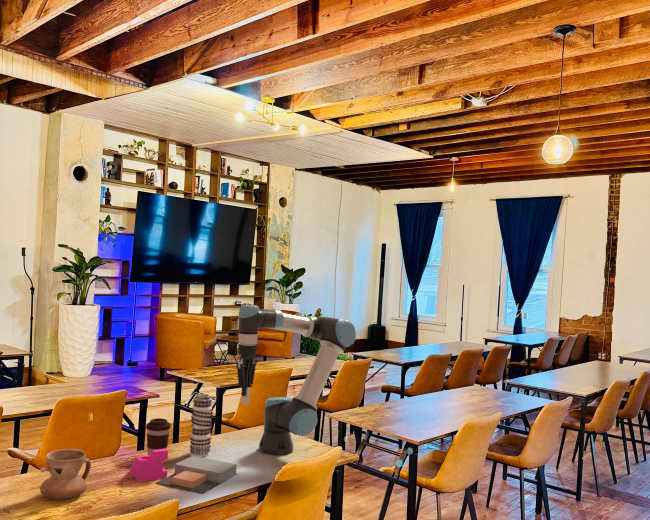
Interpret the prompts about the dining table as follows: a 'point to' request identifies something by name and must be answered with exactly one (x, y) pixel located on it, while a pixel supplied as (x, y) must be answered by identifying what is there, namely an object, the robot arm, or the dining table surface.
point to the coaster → (189, 479)
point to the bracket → (150, 466)
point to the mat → (199, 489)
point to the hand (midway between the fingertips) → (245, 403)
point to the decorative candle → (201, 425)
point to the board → (207, 468)
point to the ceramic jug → (65, 474)
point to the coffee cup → (157, 434)
